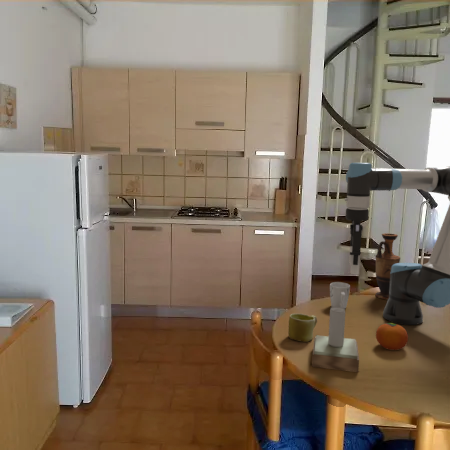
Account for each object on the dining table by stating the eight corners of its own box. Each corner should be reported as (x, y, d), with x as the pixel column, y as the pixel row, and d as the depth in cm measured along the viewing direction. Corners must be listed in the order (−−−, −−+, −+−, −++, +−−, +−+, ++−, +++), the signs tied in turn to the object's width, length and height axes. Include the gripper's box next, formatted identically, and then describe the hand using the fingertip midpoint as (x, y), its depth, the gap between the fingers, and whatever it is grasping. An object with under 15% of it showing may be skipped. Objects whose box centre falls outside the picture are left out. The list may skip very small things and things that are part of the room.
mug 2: (352, 312, 191) (354, 289, 189) (332, 312, 191) (333, 289, 189) (345, 303, 202) (347, 282, 200) (327, 303, 202) (328, 281, 200)
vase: (393, 293, 218) (398, 232, 213) (400, 301, 207) (405, 236, 202) (370, 292, 219) (374, 231, 214) (375, 300, 208) (380, 236, 203)
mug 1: (298, 342, 155) (298, 312, 158) (281, 340, 164) (282, 312, 167) (326, 343, 161) (326, 314, 163) (309, 341, 170) (309, 314, 172)
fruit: (407, 356, 150) (409, 333, 149) (374, 351, 154) (376, 328, 153) (406, 343, 160) (408, 322, 159) (375, 339, 164) (377, 318, 162)
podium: (356, 352, 152) (357, 338, 151) (358, 372, 139) (359, 356, 138) (314, 348, 155) (314, 334, 154) (312, 366, 142) (312, 351, 141)
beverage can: (326, 342, 148) (328, 307, 146) (340, 341, 149) (342, 306, 147) (331, 348, 144) (332, 312, 142) (345, 347, 144) (347, 311, 142)
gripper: (345, 204, 166) (342, 260, 170) (347, 212, 142) (343, 277, 146) (366, 204, 165) (362, 261, 168) (371, 213, 141) (367, 279, 144)
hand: (353, 269), depth 157 cm, fingers open, 13 cm apart
